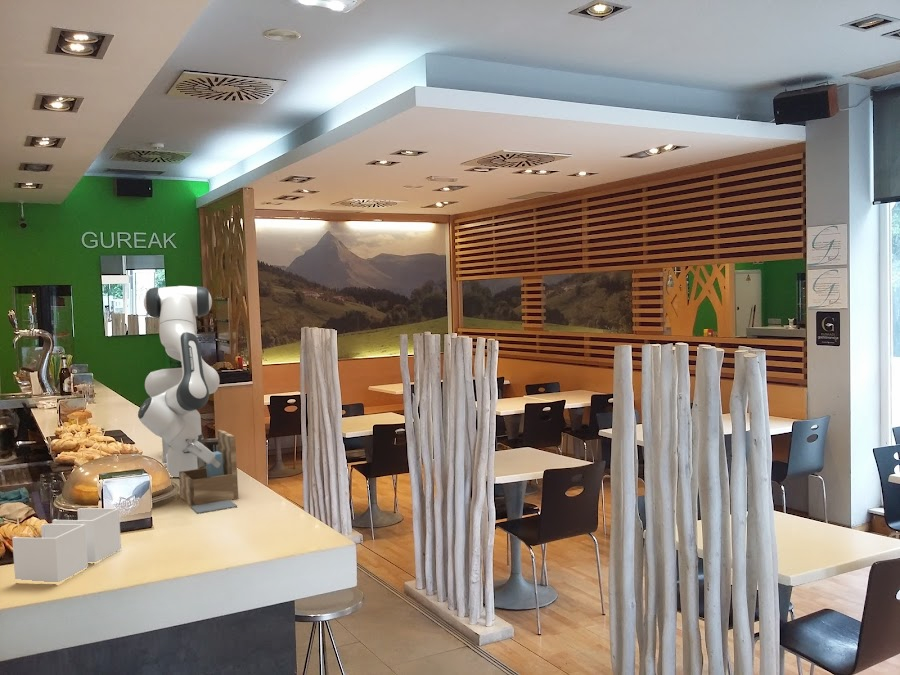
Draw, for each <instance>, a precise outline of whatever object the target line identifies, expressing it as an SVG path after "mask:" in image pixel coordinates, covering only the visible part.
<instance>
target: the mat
mask: <svg viewBox="0 0 900 675" xmlns="http://www.w3.org/2000/svg"><path fill="white" fill-rule="evenodd" d="M237 506H238V505H237V504H236V503H235V502H234V501H233V500H225V501H219V502H213V503H207V504H201V505H195V506H191V505H190V509H192V510H193V512H195V513H196V514H197V515H198V514H199V513H200V514H205V513H204V512H206V513H210V512H209V511H212V512H216V510H218V511H222V510H221V509H224V510H228V509H227V508H230V509H233V508H232V507H235V508H238V507H237Z"/></svg>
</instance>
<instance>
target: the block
mask: <svg viewBox="0 0 900 675" xmlns="http://www.w3.org/2000/svg"><path fill="white" fill-rule="evenodd" d="M213 453H214V454H215V455H216V456H215V459H216V460H217V461H218V462H220V463H221V465H220V466H219V467H218V468H216V467H215V466H214V465H212V464H211V463H210V464H207V463H206V469H207V478H208V477H215V476H222V475H223V462H222V453H220V452H218V451H217V452H213Z"/></svg>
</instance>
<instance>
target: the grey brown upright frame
mask: <svg viewBox="0 0 900 675" xmlns="http://www.w3.org/2000/svg"><path fill="white" fill-rule="evenodd" d="M199 442H200V443H201V444H203V445H204V446H205V447H207V448H208V449H209V450H210V451H212V452H217V451H218V452H219V450H218V437H217V438H215V437H214V438H213V437H212V438H203V439H201V440H199ZM197 466H198V469H202V468H206V463H205V462H204V461H203V460H201V459H200V458H198V457H197Z"/></svg>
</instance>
